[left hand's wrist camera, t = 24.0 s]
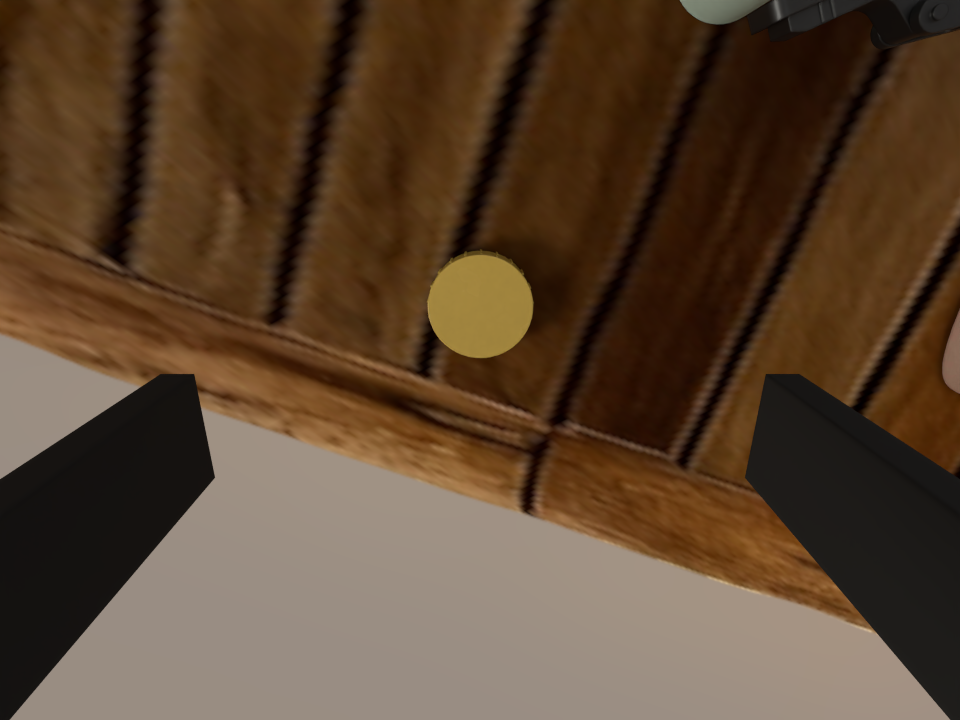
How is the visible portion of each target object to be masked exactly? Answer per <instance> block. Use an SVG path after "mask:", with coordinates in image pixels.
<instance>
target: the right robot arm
mask: <svg viewBox="0 0 960 720" xmlns="http://www.w3.org/2000/svg"><path fill="white" fill-rule="evenodd" d="M851 11H860V12H863V13H864V14H866V15H867V16H868V17H869V19H870V20H871V22H872V24H873V27H872V30H871V41H872V43H873V45H874V46H875V47H876V48H879V49H887V48H891V47H895V46H899V45H903V44H907V43H910V42H914V41H918V40H922V39H926V38H930V37H933V36H937V35H941V34H945V33H949V32H953V31H956V30H960V0H773V1H771V2H769V3H767V4H766V5H764V6H762V7H761V8H759V9H758V10H756V11H754V12H753V13H751V14H749V15H748V16H747V18H748V22H749V26H750V31H751V35H753V34H756V33H758V32H760V31H762V30H764V29H767V28H768V32H769V37H770V41H771V42H773V41H786V40H788V39H791V38H793V37H795V36H797V35H799V34H801V33H804V32H806V31H808V30H810V29H812V28H815V27H817V26H819V25H821V24H823V23H825V22H828V21H830V20H832V19H834V18H836V17H839V16H841V15H843V14H845V13H847V12H851Z"/></svg>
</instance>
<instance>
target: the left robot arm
mask: <svg viewBox="0 0 960 720" xmlns="http://www.w3.org/2000/svg"><path fill="white" fill-rule="evenodd" d="M214 478H215V475H214V471H213V466H212V461H211V456H210V451H209V446H208V441H207V436H206V431H205V426H204V421H203V416H202V411H201V406H200V401H199V396H198V391H197V386H196V381H195V376H194V374H160V375H159V376H157V377H156V378H154V379H153V380H151V381H150V382H148V383H146V384H145V385H143V386H142V387H140V388H139V389H137V390H136V391H134V392H133V393H131V394H130V395H128V396H127V397H125V398H124V399H122V400H121V401H119V402H118V403H116V404H114V405H113V406H111V407H110V408H108V409H107V410H105V411H104V412H102V413H101V414H99V415H98V416H96V417H95V418H93V419H92V420H90V421H88V422H87V423H85V424H84V425H82V426H81V427H79V428H78V429H76V430H75V431H73V432H72V433H70V434H69V435H67V436H66V437H64V438H63V439H61V440H59V441H58V442H56V443H55V444H53V445H52V446H50V447H49V448H47V449H46V450H44V451H43V452H41V453H40V454H38V455H37V456H35V457H34V458H32V459H30V460H29V461H27V462H26V463H24V464H23V465H21V466H20V467H18V468H17V469H15V470H14V471H12V472H11V473H9V474H8V475H6V476H5V477H3V478H1V479H0V720H10V719H11V717H12V716H13V715H14V714H15V713H16V712H17V710H18V709H19V708H20V707H21V706H22V705H23V703H24V702H25V701H26V700H27V699H28V697H29V696H30V695H31V694H32V693H33V691H34V690H35V689H36V688H37V687H38V686H39V684H40V683H41V682H42V681H43V680H44V678H45V677H46V676H47V675H48V674H49V673H50V671H51V670H52V669H53V668H54V667H55V666H56V664H57V663H58V662H59V661H60V660H61V659H62V657H63V656H64V655H65V654H66V653H67V651H68V650H69V649H70V648H71V647H72V646H73V644H74V643H75V642H76V641H77V640H78V638H79V637H80V636H81V635H82V634H83V633H84V631H85V630H86V629H87V628H88V627H89V625H90V624H91V623H92V622H93V621H94V620H95V618H96V617H97V616H98V615H99V614H100V613H101V611H102V610H103V609H104V608H105V607H106V605H107V604H108V603H109V602H110V601H111V600H112V598H113V597H114V596H115V595H116V594H117V592H118V591H119V590H120V589H121V588H122V587H123V585H124V584H125V583H126V582H127V581H128V580H129V578H130V577H131V576H132V575H133V574H134V572H135V571H136V570H137V569H138V568H139V567H140V565H141V564H142V563H143V562H144V561H145V559H146V558H147V557H148V556H149V555H150V554H151V552H152V551H153V550H154V549H155V548H156V547H157V545H158V544H159V543H160V542H161V541H162V539H163V538H164V537H165V536H166V535H167V533H168V532H169V531H170V530H171V529H172V528H173V526H174V525H175V524H176V523H177V522H178V520H179V519H180V518H181V517H182V516H183V515H184V513H185V512H186V511H187V510H188V509H189V508H190V506H191V505H192V504H193V503H194V502H195V500H196V499H197V498H198V497H199V496H200V495H201V493H202V492H203V491H204V490H205V489H206V488H207V486H208V485H209V484H210V483H211V482H212V480H213V479H214ZM745 478H746V479H747V480H748V482H749V483H750V484H751V485H752V486H753V488H754V489H755V490H756V491H757V492H758V493H759V495H760V496H761V497H762V498H763V499H764V501H765V502H766V503H767V504H768V505H769V506H770V508H771V509H772V510H773V511H774V512H775V513H776V515H777V516H778V517H779V518H780V519H781V521H782V522H783V523H784V524H785V525H786V526H787V528H788V529H789V530H790V531H791V532H792V534H793V535H794V536H795V537H796V538H797V539H798V541H799V542H800V543H801V544H802V545H803V547H804V548H805V549H806V550H807V551H808V552H809V554H810V555H811V556H812V557H813V558H814V559H815V561H816V562H817V563H818V564H819V565H820V567H821V568H822V569H823V570H824V571H825V572H826V574H827V575H828V576H829V577H830V578H831V580H832V581H833V582H834V583H835V584H836V585H837V587H838V588H839V589H840V590H841V591H842V592H843V594H844V595H845V596H846V597H847V598H848V600H849V601H850V602H851V603H852V604H853V605H854V607H855V608H856V609H857V610H858V611H859V613H860V614H861V615H862V616H863V617H864V618H865V620H866V621H867V622H868V623H869V624H870V626H871V627H872V628H873V629H874V630H875V631H876V633H877V634H878V635H879V636H880V637H881V638H882V640H883V641H884V642H885V643H886V644H887V646H888V647H889V648H890V649H891V650H892V651H893V653H894V654H895V655H896V656H897V657H898V659H899V660H900V661H901V662H902V663H903V664H904V666H905V667H906V668H907V669H908V670H909V671H910V673H911V674H912V675H913V676H914V677H915V679H916V680H917V681H918V682H919V683H920V684H921V686H922V687H923V688H924V689H925V690H926V692H927V693H928V694H929V695H930V696H931V697H932V699H933V700H934V701H935V702H936V703H937V705H938V706H939V707H940V708H941V709H942V710H943V712H944V713H945V714H946V715H947V716H948V717H949V719H950V720H960V479H959V478H957V477H956V476H954V475H952V474H951V473H949V472H948V471H946V470H945V469H943V468H942V467H940V466H939V465H937V464H936V463H934V462H933V461H931V460H930V459H928V458H927V457H925V456H923V455H922V454H920V453H919V452H917V451H916V450H914V449H913V448H911V447H910V446H908V445H907V444H905V443H904V442H902V441H901V440H899V439H897V438H896V437H894V436H893V435H891V434H890V433H888V432H887V431H885V430H884V429H882V428H881V427H879V426H878V425H876V424H875V423H873V422H872V421H870V420H868V419H867V418H865V417H864V416H862V415H861V414H859V413H858V412H856V411H855V410H853V409H852V408H850V407H849V406H847V405H846V404H844V403H843V402H841V401H839V400H838V399H836V398H835V397H833V396H832V395H830V394H829V393H827V392H826V391H824V390H823V389H821V388H820V387H818V386H817V385H815V384H814V383H812V382H810V381H809V380H807V379H806V378H804V377H803V376H801V375H800V374H766V376H765V381H764V386H763V391H762V396H761V401H760V406H759V411H758V416H757V421H756V426H755V431H754V436H753V441H752V446H751V451H750V456H749V461H748V466H747V471H746V475H745Z"/></svg>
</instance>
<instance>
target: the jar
mask: <svg viewBox="0 0 960 720" xmlns="http://www.w3.org/2000/svg"><path fill="white" fill-rule="evenodd" d="M680 1H681V3H682V5H683V6H684V7H685V9H686V10H687V11H688V12H689V13H690V14H691V15H692V16H694V17H695V18H697V19H698V20H701V21H703V22H706V23H710V24H726V23H731V22H734V21H736V20H738V19H740V18H742V17H744V16H746V15H747V14H749V13H751V12H752V11H754V10H755V9H757V8H759V7H760V6H762V5H763V4H765V3H767V2H768V1H770V0H680Z"/></svg>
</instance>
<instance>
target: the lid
mask: <svg viewBox="0 0 960 720" xmlns="http://www.w3.org/2000/svg"><path fill="white" fill-rule="evenodd" d="M430 287H431V290H430V294H429V298H428V300H427V303H428V314H429V316H428V317H429V319H430V322H431V325H432V327H433V330H434V331H435V333H436V335H437V336H438V337H439V339H440V340H441V341H442V342H443V343H444V344H445V345H446V346H447V347H449V348H450V349H452V350H453V351H455V352H457V353H459V354H462V355H465V356H468V357H474V358H487V357H493V356H497V355H499V354H502V353H504V352H506V351H508V350H509V349H511V348H512V347H514V346H515V345H516V344H517V343H518V342H519V341H520V340H521V339H522V337H523V336H524V335H525V333H526V332H527V330H528V328H529V325H530V323H531V319H532V315H533V304H534V301H533V298H532V293H531V290H530V289H531V286H530V284H529V283H527V281H526V279H525V277H524V273H523V271H522V269H521V270H520V269H519V268H518V267H517V266H516V265H515V264H514V263H513V262H512V259H507V258H506V257H504V256H502V255H500V254H498V252H496V253H494V252H489V251H482V249H480V251H471V252H467V251H465V253H464V254H461V255H459V256H457V257H455V258H454V259H453V258H451V259H450V261H449V262H448V263H447V264H446V265H445V266H444V267H443V268H442V269H441V268H440V269H439V271H438V275H437V277H436V279H435V281H433V282H432V284H431V286H430Z"/></svg>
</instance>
